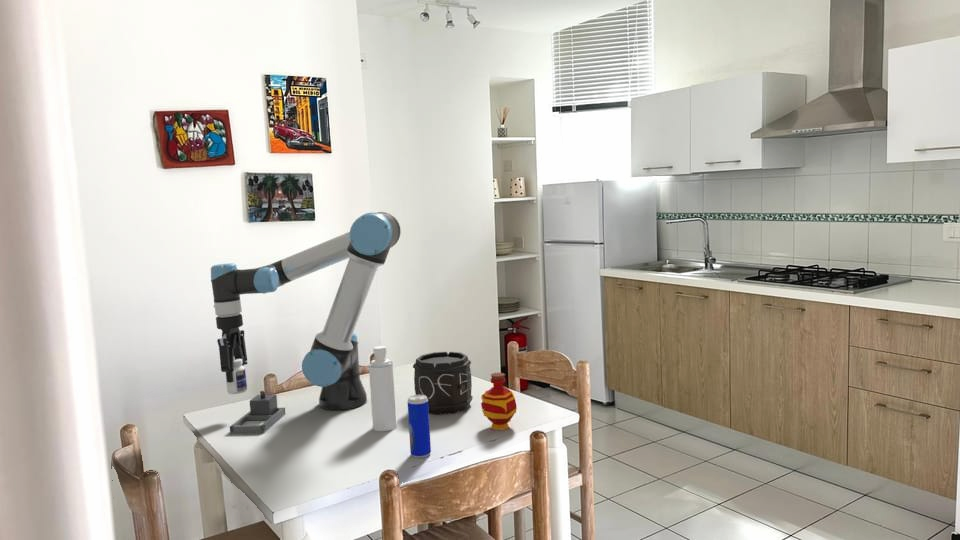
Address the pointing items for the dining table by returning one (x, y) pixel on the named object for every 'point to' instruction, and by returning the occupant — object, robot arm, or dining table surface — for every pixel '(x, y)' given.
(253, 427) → the gray tray with block
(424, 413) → the beverage can
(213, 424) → the dining table surface
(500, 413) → the potion bottle
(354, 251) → the robot arm
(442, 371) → the wooden barrel
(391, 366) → the spray bottle
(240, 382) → the pill bottle
